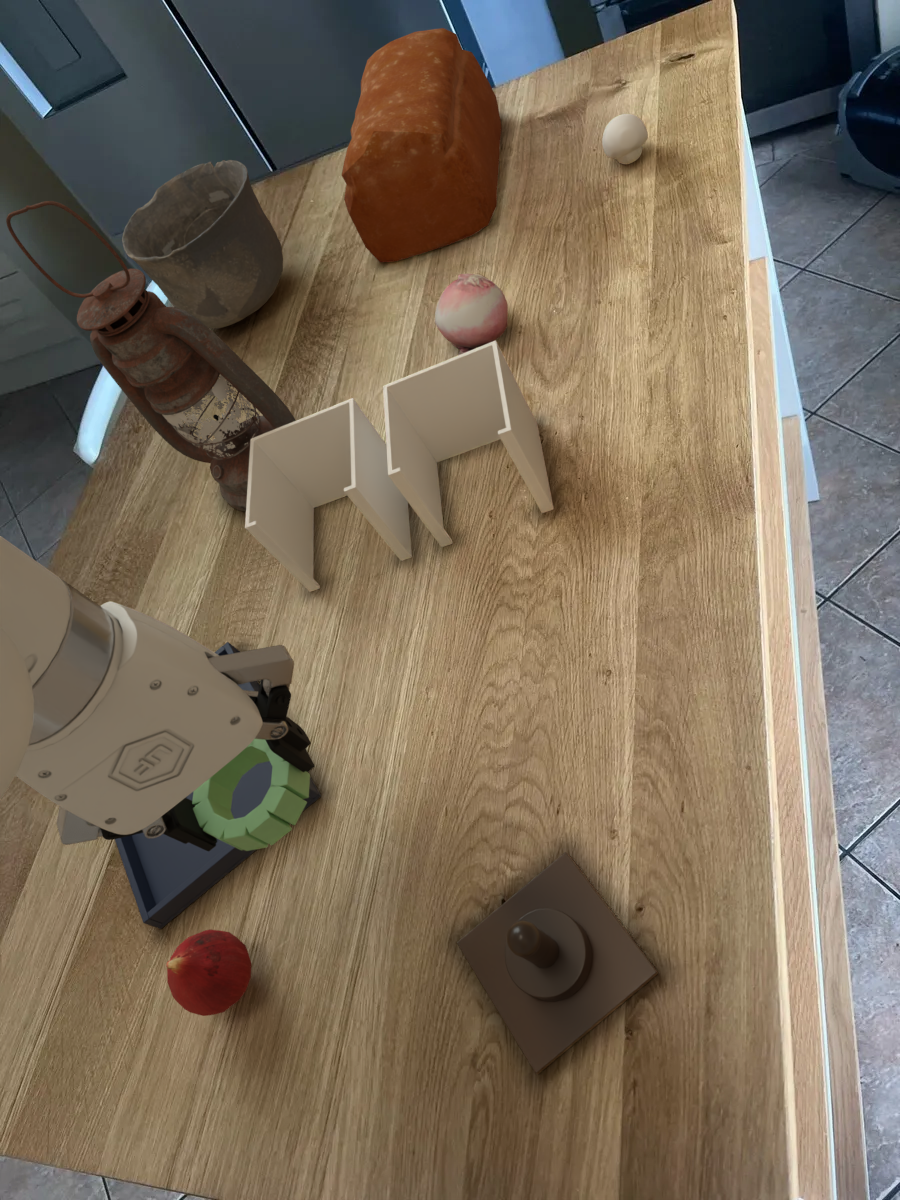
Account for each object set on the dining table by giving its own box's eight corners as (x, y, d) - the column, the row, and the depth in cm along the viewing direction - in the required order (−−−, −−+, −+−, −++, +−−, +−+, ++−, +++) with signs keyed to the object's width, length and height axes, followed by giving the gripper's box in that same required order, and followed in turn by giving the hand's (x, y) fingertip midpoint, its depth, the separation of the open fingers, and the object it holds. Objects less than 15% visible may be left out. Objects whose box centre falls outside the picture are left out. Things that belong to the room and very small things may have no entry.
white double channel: (536, 422, 87) (495, 340, 78) (553, 509, 80) (511, 429, 72) (310, 506, 94) (250, 438, 85) (309, 591, 87) (244, 528, 79)
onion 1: (238, 927, 72) (174, 902, 65) (285, 966, 68) (222, 944, 62) (194, 994, 70) (124, 975, 64) (239, 1038, 67) (171, 1023, 61)
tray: (160, 929, 74) (143, 923, 73) (102, 765, 87) (86, 757, 85) (321, 796, 75) (307, 787, 73) (240, 652, 87) (227, 641, 85)
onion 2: (532, 328, 94) (507, 275, 88) (476, 376, 94) (448, 326, 88) (489, 301, 99) (464, 249, 93) (436, 347, 99) (408, 297, 93)
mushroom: (616, 180, 101) (605, 140, 97) (603, 159, 104) (591, 120, 100) (658, 157, 100) (648, 116, 96) (643, 137, 103) (632, 97, 99)
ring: (237, 873, 54) (213, 862, 52) (202, 789, 58) (178, 776, 56) (326, 802, 54) (305, 788, 52) (284, 723, 58) (263, 708, 56)
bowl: (295, 234, 124) (231, 135, 112) (326, 298, 112) (258, 196, 101) (188, 303, 126) (115, 214, 114) (208, 373, 115) (129, 282, 103)
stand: (538, 1074, 57) (498, 1062, 52) (458, 944, 64) (416, 921, 58) (658, 973, 57) (632, 950, 52) (567, 853, 64) (535, 822, 58)
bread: (371, 273, 111) (308, 169, 100) (390, 156, 124) (337, 51, 113) (500, 230, 105) (449, 113, 93) (507, 111, 118) (462, -5, 106)
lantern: (224, 440, 106) (-13, 185, 79) (341, 423, 99) (125, 136, 72) (193, 517, 101) (-70, 273, 74) (314, 505, 94) (71, 229, 67)
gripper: (-105, 843, 39) (161, 931, 53) (208, 592, 39) (392, 745, 53) (-119, 724, 44) (128, 833, 58) (159, 500, 44) (340, 662, 58)
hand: (253, 790), depth 55 cm, fingers closed on ring, 6 cm apart
